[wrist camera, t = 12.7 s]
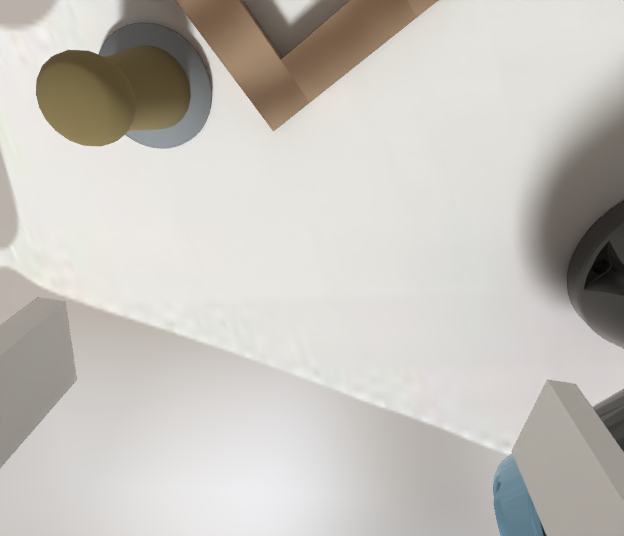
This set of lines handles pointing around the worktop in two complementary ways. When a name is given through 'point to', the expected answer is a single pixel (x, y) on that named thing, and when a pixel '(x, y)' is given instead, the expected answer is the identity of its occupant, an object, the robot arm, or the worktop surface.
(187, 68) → the coaster
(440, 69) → the worktop surface
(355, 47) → the collar board
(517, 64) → the worktop surface
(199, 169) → the worktop surface
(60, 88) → the cork
